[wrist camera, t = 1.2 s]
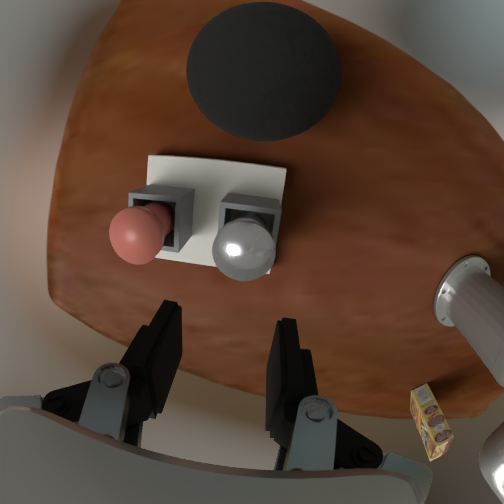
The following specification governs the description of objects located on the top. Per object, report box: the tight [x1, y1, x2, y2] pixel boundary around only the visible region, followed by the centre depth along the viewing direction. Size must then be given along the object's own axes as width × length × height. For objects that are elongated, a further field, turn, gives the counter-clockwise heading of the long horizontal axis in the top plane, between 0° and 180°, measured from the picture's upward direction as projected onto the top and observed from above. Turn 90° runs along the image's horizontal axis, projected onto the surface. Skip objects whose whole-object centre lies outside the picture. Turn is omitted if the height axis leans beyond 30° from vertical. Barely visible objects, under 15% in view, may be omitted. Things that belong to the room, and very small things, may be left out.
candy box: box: [410, 383, 454, 461], centre depth 36 cm, size 9×4×15 cm, turn 23°
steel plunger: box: [212, 211, 276, 281], centre depth 23 cm, size 5×5×6 cm
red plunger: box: [109, 200, 175, 265], centre depth 23 cm, size 5×5×6 cm
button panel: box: [129, 155, 287, 274], centre depth 28 cm, size 15×12×7 cm
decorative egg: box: [187, 2, 341, 141], centre depth 19 cm, size 12×12×15 cm
